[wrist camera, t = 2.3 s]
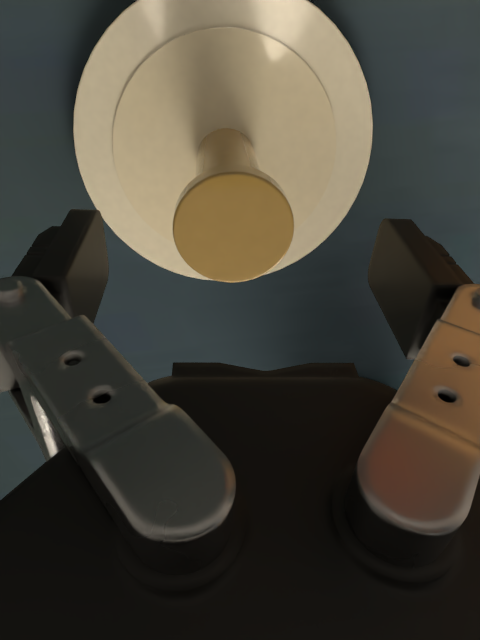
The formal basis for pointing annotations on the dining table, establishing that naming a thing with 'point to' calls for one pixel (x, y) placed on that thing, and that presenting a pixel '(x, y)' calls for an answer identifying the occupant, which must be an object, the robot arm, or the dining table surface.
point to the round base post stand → (223, 133)
